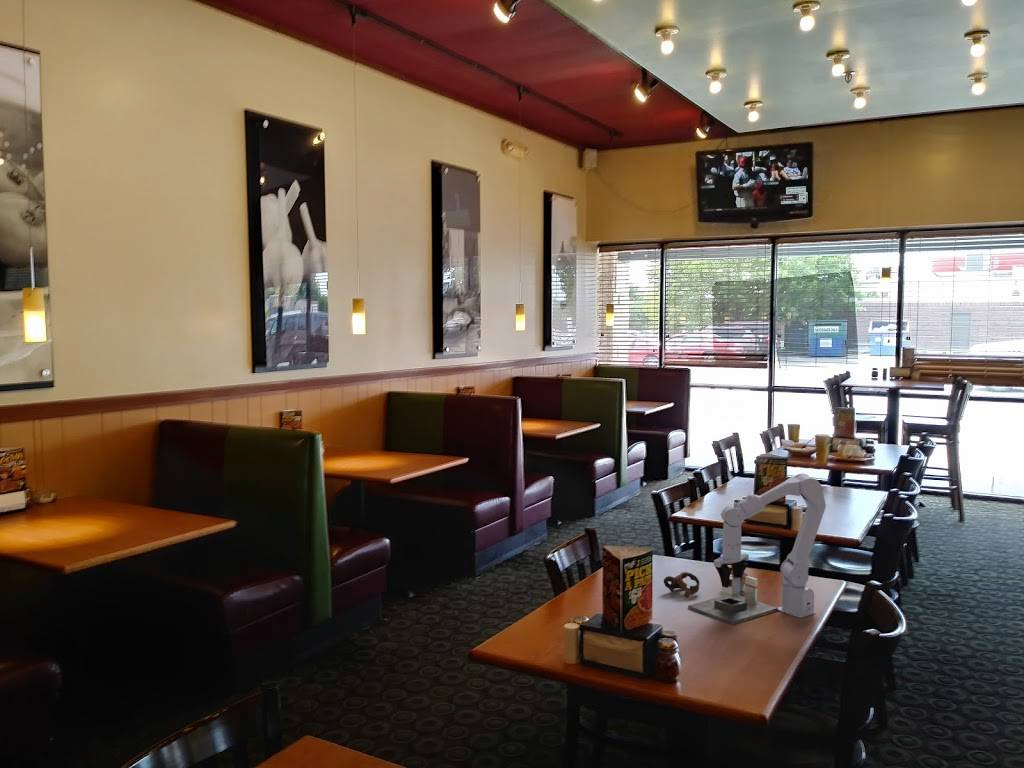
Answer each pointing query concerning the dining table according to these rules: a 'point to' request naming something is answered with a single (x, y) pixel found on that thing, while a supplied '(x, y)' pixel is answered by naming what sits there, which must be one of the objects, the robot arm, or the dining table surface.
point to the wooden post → (732, 588)
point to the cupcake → (741, 580)
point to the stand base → (735, 605)
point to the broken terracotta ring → (682, 583)
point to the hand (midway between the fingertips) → (731, 585)
